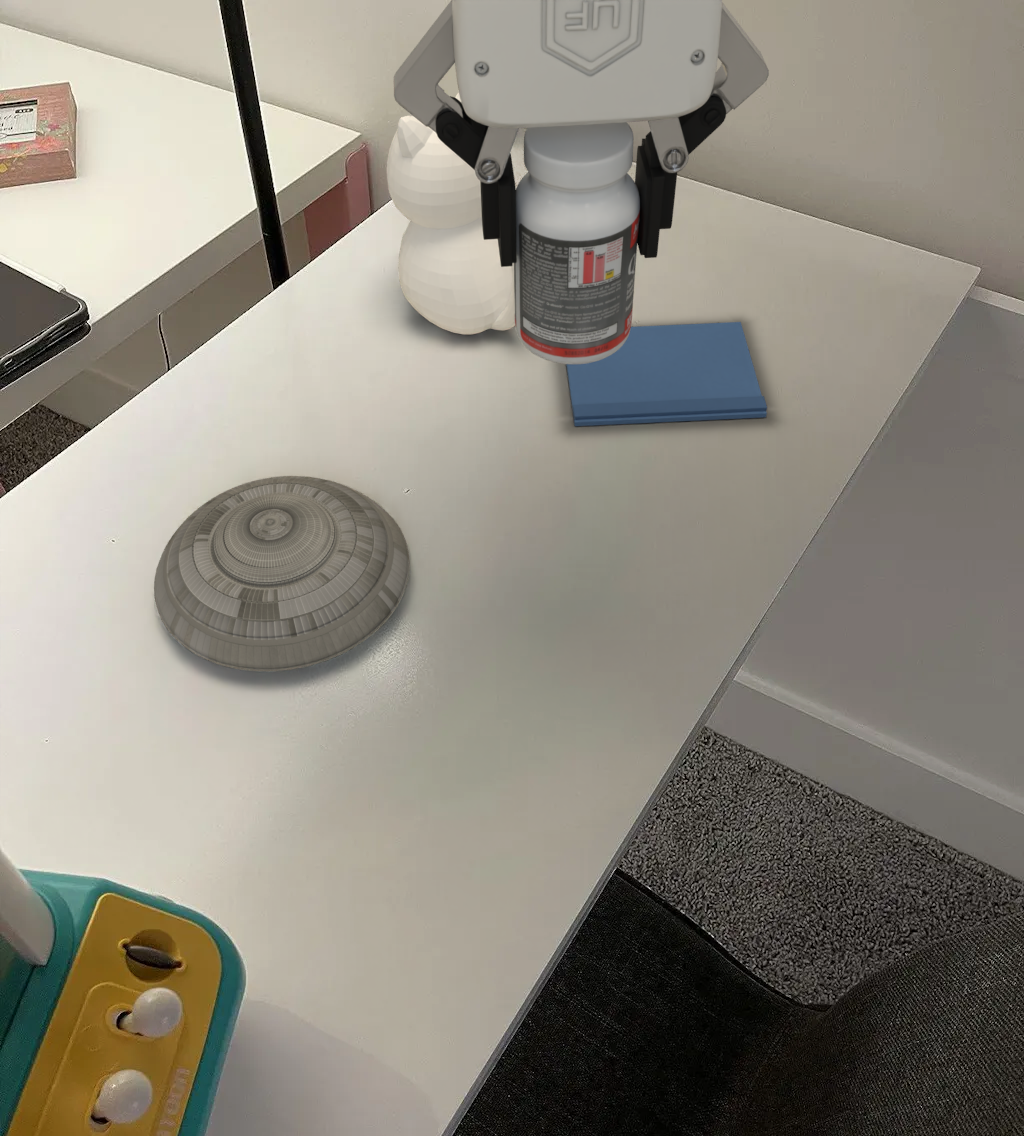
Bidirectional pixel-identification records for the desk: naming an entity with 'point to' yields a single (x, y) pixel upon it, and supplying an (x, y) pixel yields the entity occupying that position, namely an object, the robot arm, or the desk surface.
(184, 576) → the flying saucer
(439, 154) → the cat figurine
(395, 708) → the desk surface
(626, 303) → the pill bottle
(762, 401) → the cloth
